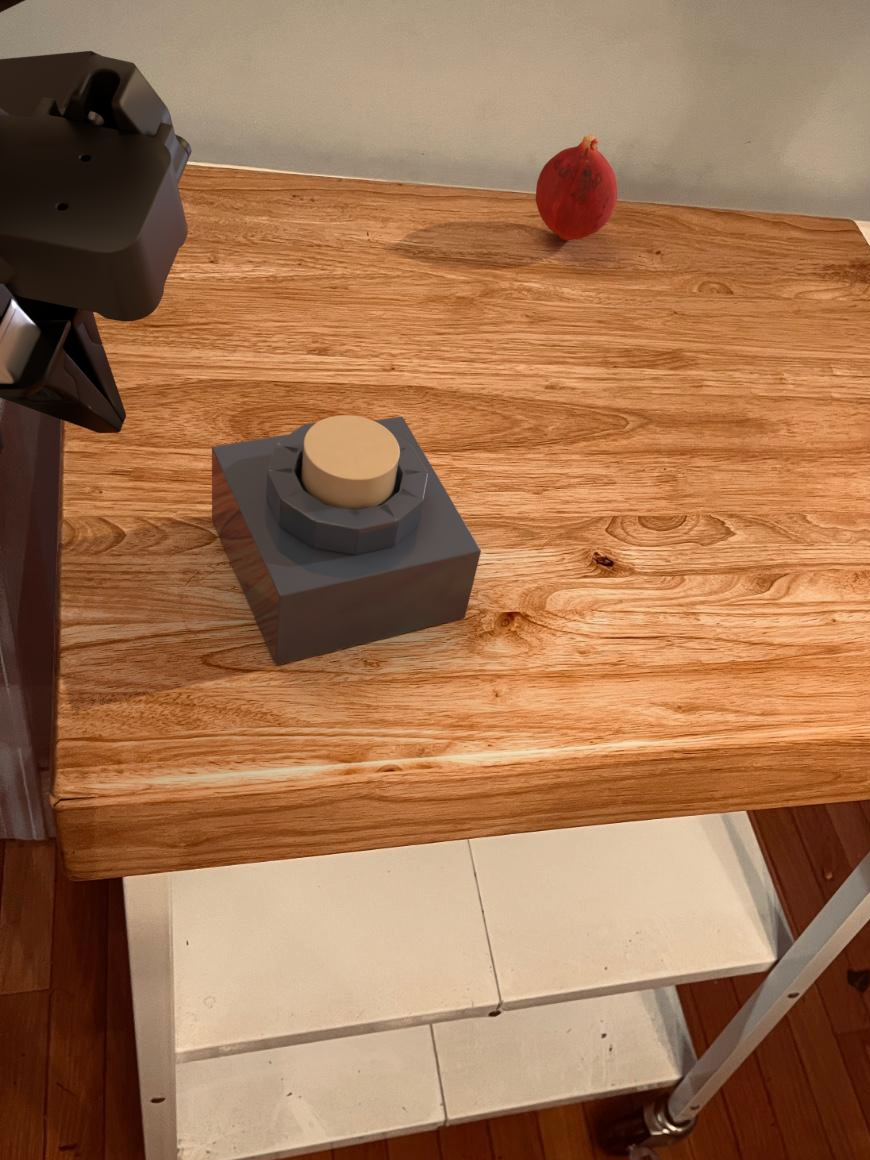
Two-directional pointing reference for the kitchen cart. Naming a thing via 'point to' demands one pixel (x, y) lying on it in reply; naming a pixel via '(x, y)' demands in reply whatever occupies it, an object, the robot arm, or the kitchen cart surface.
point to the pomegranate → (577, 191)
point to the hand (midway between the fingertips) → (113, 425)
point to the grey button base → (339, 549)
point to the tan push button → (349, 462)
